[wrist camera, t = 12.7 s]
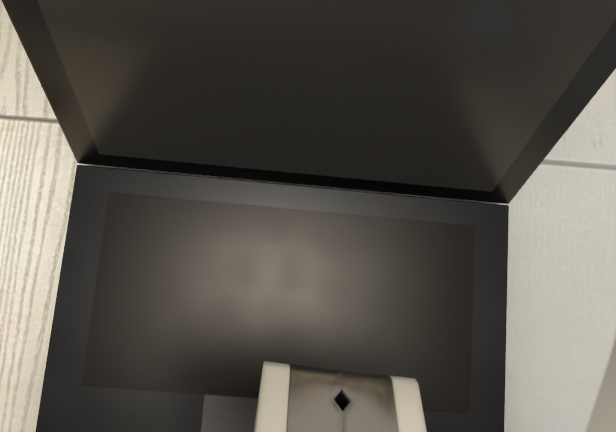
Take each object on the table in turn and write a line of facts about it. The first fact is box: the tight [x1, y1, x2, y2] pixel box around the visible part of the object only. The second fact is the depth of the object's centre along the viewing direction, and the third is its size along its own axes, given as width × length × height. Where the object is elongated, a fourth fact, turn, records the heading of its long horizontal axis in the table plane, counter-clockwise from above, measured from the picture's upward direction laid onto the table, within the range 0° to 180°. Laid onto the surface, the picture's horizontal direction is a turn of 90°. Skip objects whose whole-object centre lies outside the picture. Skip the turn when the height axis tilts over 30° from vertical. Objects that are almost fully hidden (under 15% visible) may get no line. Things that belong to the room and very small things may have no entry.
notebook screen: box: [2, 0, 616, 204], centre depth 29 cm, size 21×30×1 cm
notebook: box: [36, 165, 509, 432], centre depth 37 cm, size 21×30×2 cm
